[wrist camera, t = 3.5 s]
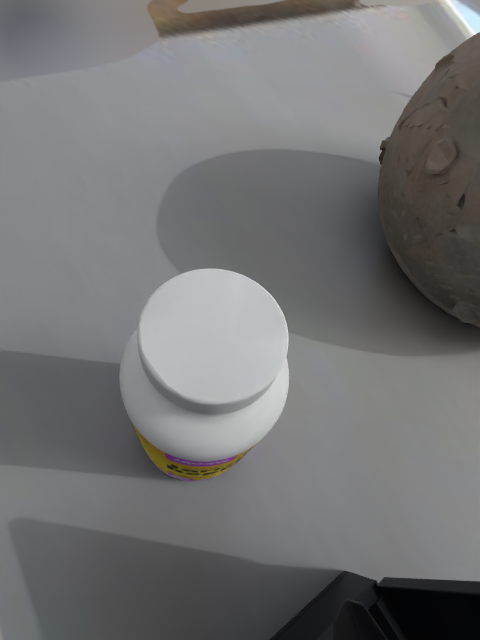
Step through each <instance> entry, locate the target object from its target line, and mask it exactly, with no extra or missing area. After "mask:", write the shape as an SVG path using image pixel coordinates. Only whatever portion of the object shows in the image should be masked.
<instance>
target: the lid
mask: <svg viewBox="0 0 480 640" xmlns="http://www.w3.org/2000/svg"><path fill="white" fill-rule="evenodd" d="M377 587H378V589H379V590H380V592H381V593H382V595H383V597H384V598H385V600H386V601H387V603H388V604H389V606H390V607H391V609H392V611H393V612H394V614H395V615H396V617H397V618H398V620H399V622H400V623H401V625H402V626H403V628H404V629H405V631H406V632H407V634H408V636H409V637H410V639H411V640H480V582H477V581H455V580H433V579H410V578H388V577H384V578H383V579H382V580H381V582H380V583H379V584H378V585H377Z"/></svg>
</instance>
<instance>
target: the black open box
mask: <svg viewBox="0 0 480 640" xmlns="http://www.w3.org/2000/svg"><path fill="white" fill-rule="evenodd" d="M377 585H378V583H377V581H376V580H372V579H369V578H366V577H363V576H360V575H357V574H354V573H351V572H348V571H344V572H343V573H341V574H340V575H339V576H338V577H337V578H336V579H335V580H334V581H333V582H332V583H331V584H330V585H328V586H327V587H326V588H325V589H324V590H323V591H322V592H321V593H320V594H319V595H318V596H317V597H315V598H314V599H313V600H312V601H311V602H310V603H309V604H308V605H307V606H306V607H305V608H304V609H302V610H301V611H300V612H299V613H298V614H297V615H296V616H295V617H294V618H293V619H292V620H290V621H289V622H288V623H287V624H286V625H285V626H284V627H283V628H282V629H281V630H280V631H279V632H277V633H276V634H275V635H274V636H273V637H272V638H271V639H270V640H333V626H334V622H335V620H336V618H337V615H338V613H339V610H340V608H341V606H342V603H343V602H344V601H345V600H352V601H357V602H360V603H362V604H363V605H364V606H365V607H366V608H367V610H368V611H369V613H370V614H371V616H372V617H373V619H374V620H375V622H376V623H377V625H378V626H379V628H380V629H381V630H382V632H383V633H384V635H385V636H386V638H387V639H388V640H411V639H410V637H409V636H408V634H407V632H406V631H405V629H404V628H403V626H402V625H401V623H400V622H399V620H398V618H397V617H396V615H395V614H394V612H393V611H392V609H391V607H390V606H389V604H388V603H387V601H386V600H385V598H384V597H383V595H382V593H381V592H380V590H379V589H378V587H377Z"/></svg>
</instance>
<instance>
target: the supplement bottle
mask: <svg viewBox="0 0 480 640" xmlns="http://www.w3.org/2000/svg"><path fill="white" fill-rule="evenodd" d="M287 351H288V329H287V324H286V320H285V317H284V314H283V312H282V310H281V309H280V307H279V305H278V304H277V302H276V301H275V299H274V298H273V297H272V296H271V294H270V293H269V292H268V291H267V290H265V289H264V288H263V287H262V286H261V285H259V284H258V283H256V282H255V281H253V280H252V279H250V278H248V277H246V276H244V275H241V274H238V273H235V272H232V271H228V270H222V269H198V270H192V271H189V272H185V273H182V274H180V275H177V276H175V277H173V278H171V279H170V280H168V281H166V282H165V283H163V284H162V285H161V286H160V287H159V288H158V289H157V290H155V292H154V293H153V294H152V295H151V296H150V298H149V299H148V300H147V302H146V304H145V306H144V308H143V310H142V312H141V315H140V318H139V322H138V327H137V329H136V330H135V331H134V333H133V334H132V336H131V337H130V339H129V341H128V343H127V345H126V348H125V350H124V353H123V356H122V359H121V365H120V374H119V382H120V391H121V395H122V399H123V403H124V406H125V409H126V411H127V414H128V416H129V418H130V420H131V422H132V425H133V427H134V429H135V431H136V433H137V435H138V437H139V439H140V441H141V444H142V445H143V447H144V449H145V451H146V453H147V455H148V456H149V458H150V459H151V460H152V462H153V463H154V464H155V465H156V466H157V467H158V468H159V469H160V470H162V471H163V472H165V473H166V474H168V475H170V476H172V477H174V478H177V479H180V480H184V481H204V480H208V479H212V478H214V477H217V476H219V475H221V474H223V473H224V472H226V471H227V470H229V469H230V468H231V467H232V466H234V465H235V464H236V463H237V462H238V461H239V460H240V459H241V458H242V457H243V456H244V455H246V453H247V452H248V451H249V450H251V449H252V448H253V447H254V446H255V445H256V444H257V443H258V442H259V441H260V440H261V439H262V438H264V436H265V435H266V434H267V433H268V432H269V431H270V430H271V428H272V427H273V426H274V424H275V423H276V421H277V420H278V418H279V416H280V414H281V412H282V410H283V408H284V405H285V402H286V399H287V394H288V388H289V368H288V362H287V358H286V355H287Z"/></svg>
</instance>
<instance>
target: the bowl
mask: <svg viewBox="0 0 480 640" xmlns="http://www.w3.org/2000/svg"><path fill="white" fill-rule="evenodd" d="M380 150H382V152H381V154H380V156H379V161H380V165H382V166H381V170H380V177H379V186H378V201H379V211H380V218H381V224H382V227H383V230H384V233H385V236H386V239H387V242H388V245H389V247H390V249H391V251H392V253H393V255H394V257H395V259H396V260H397V262H398V264H399V266H400V268H401V269H402V271H403V272H404V273H405V274H406V276H407V277H408V278H409V279H410V281H411V282H412V283H413V284H414V285H415V287H416V288H417V289H418V290H419V291H420V292H421V293H422V294H423V295H424V296H425V297H426V298H428V299H429V300H430V301H431V302H432V303H434V304H435V305H437V306H438V307H440V308H441V309H442V310H444V311H445V312H447V313H449V314H451V315H453V316H454V317H457V318H458V319H459V320H460V322H463V323H470V324H473V325H475V326H478V327H480V33H477V34H476V35H474V36H473V37H471V38H469V39H468V40H466V41H465V42H464V43H462V44H461V45H460V46H458V47H457V48H456V49H454V50H453V51H451V53H449V54H448V55H446V56H444V57H443V58H442V59H441V60H440V61H439V62H438V63H436V66H435V69H434V70H433V71H432V73H431V74H430V75H429V76H428V77H427V78H426V80H425V81H424V82H423V83H422V85H421V86H420V88H419V89H418V90H417V91H416V92H415V94H414V95H413V97H412V98H411V100H410V101H409V103H408V104H407V106H406V107H405V109H404V110H403V113H402V115H401V116H400V118H399V120H398V121H397V123H396V125H395V127H394V129H393V132H392V134H391V136H390V137H387V138H386V140H384V141H382V143H381V146H380Z"/></svg>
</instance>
